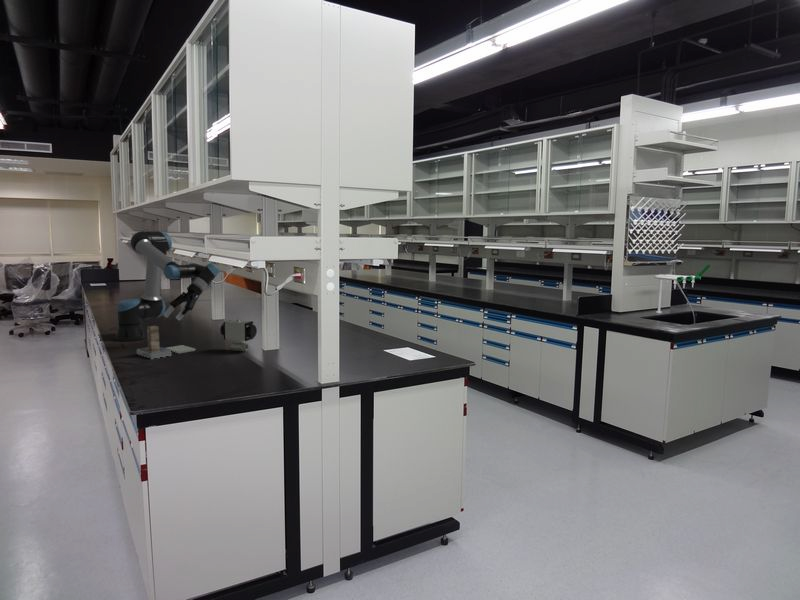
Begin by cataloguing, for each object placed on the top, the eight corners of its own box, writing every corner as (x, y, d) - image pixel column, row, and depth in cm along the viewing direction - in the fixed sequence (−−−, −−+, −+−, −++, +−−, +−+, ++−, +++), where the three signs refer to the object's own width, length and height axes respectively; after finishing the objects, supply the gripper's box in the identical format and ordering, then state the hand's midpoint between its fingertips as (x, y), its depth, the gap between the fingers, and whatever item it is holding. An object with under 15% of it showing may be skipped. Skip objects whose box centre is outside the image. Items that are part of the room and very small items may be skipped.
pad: (164, 349, 278) (164, 347, 278) (182, 346, 285) (182, 345, 285) (177, 353, 269) (177, 351, 269) (195, 350, 276) (195, 348, 276)
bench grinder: (258, 350, 280) (258, 318, 278) (250, 353, 272) (249, 320, 270) (229, 348, 284) (228, 316, 282) (220, 351, 276) (219, 318, 274)
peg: (148, 355, 264) (147, 326, 262) (156, 354, 267) (154, 325, 265) (152, 356, 262) (150, 327, 260) (159, 355, 265) (158, 326, 263)
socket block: (136, 354, 265) (136, 348, 265) (156, 351, 273) (156, 345, 273) (151, 359, 255) (150, 353, 255) (171, 356, 263) (171, 350, 263)
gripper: (214, 293, 274) (188, 324, 264) (190, 290, 289) (164, 319, 280) (204, 284, 269) (177, 315, 259) (180, 281, 285) (154, 310, 275)
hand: (171, 317), depth 269 cm, fingers open, 13 cm apart
